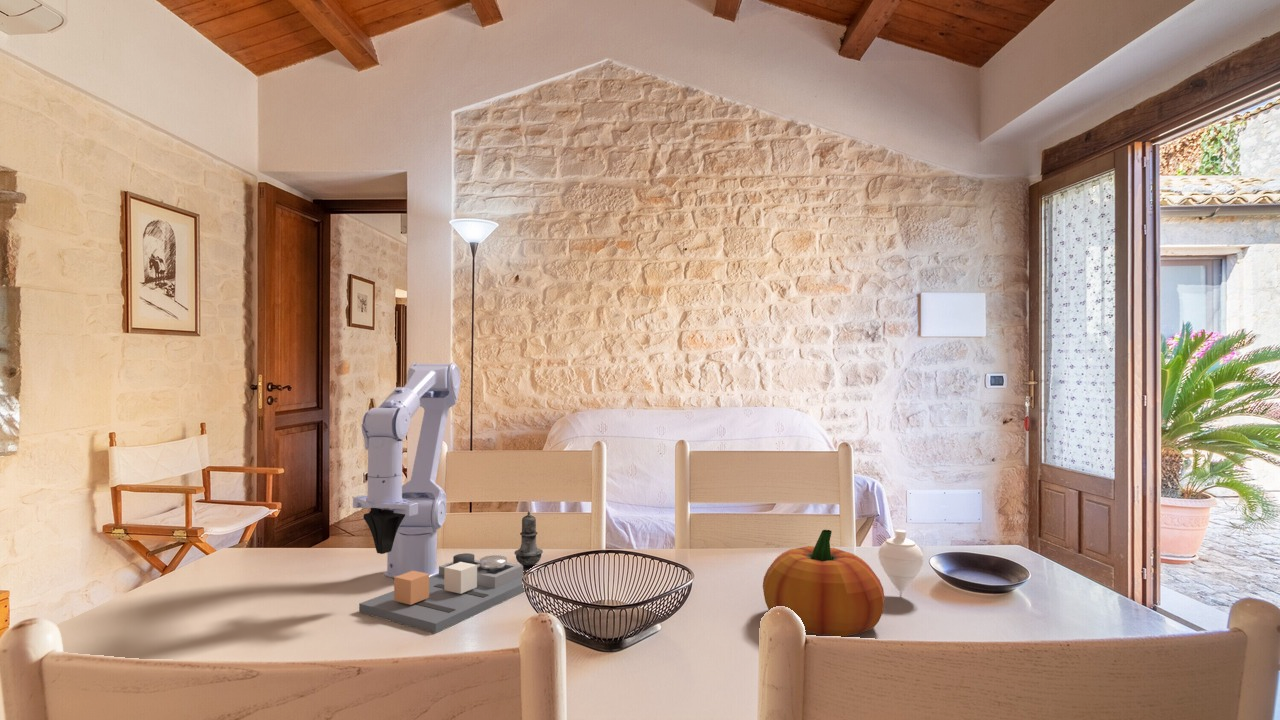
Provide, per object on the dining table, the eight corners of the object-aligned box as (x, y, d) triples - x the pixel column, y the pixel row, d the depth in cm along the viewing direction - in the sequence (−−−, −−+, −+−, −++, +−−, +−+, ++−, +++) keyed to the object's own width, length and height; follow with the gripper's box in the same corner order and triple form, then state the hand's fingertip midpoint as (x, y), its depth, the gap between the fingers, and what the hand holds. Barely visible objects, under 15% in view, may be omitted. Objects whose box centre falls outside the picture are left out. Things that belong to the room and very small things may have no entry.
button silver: (474, 568, 120) (474, 560, 120) (492, 561, 124) (492, 554, 124) (494, 572, 117) (494, 564, 117) (511, 565, 122) (512, 557, 122)
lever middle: (444, 590, 113) (444, 567, 113) (460, 583, 116) (460, 561, 117) (460, 593, 111) (461, 570, 111) (476, 587, 115) (477, 564, 115)
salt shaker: (536, 574, 128) (537, 514, 128) (509, 572, 129) (510, 513, 129) (546, 565, 134) (547, 508, 134) (520, 563, 135) (521, 507, 135)
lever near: (394, 600, 108) (394, 577, 108) (412, 593, 111) (412, 570, 111) (410, 604, 106) (410, 580, 106) (429, 597, 109) (429, 574, 109)
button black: (448, 564, 123) (448, 557, 123) (463, 559, 127) (463, 552, 127) (464, 567, 121) (464, 560, 121) (478, 562, 125) (478, 555, 125)
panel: (359, 612, 107) (359, 591, 107) (468, 570, 130) (468, 553, 130) (435, 633, 99) (436, 610, 99) (538, 584, 122) (538, 566, 122)
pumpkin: (739, 613, 107) (738, 525, 108) (821, 594, 117) (820, 513, 117) (823, 658, 91) (822, 553, 91) (911, 631, 100) (910, 536, 100)
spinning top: (924, 592, 118) (923, 528, 118) (923, 606, 111) (923, 537, 111) (880, 586, 121) (879, 523, 121) (877, 599, 114) (876, 532, 114)
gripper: (338, 475, 112) (337, 552, 112) (395, 481, 105) (394, 563, 105) (372, 469, 118) (371, 542, 118) (427, 475, 111) (426, 553, 111)
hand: (384, 552), depth 112 cm, fingers closed
